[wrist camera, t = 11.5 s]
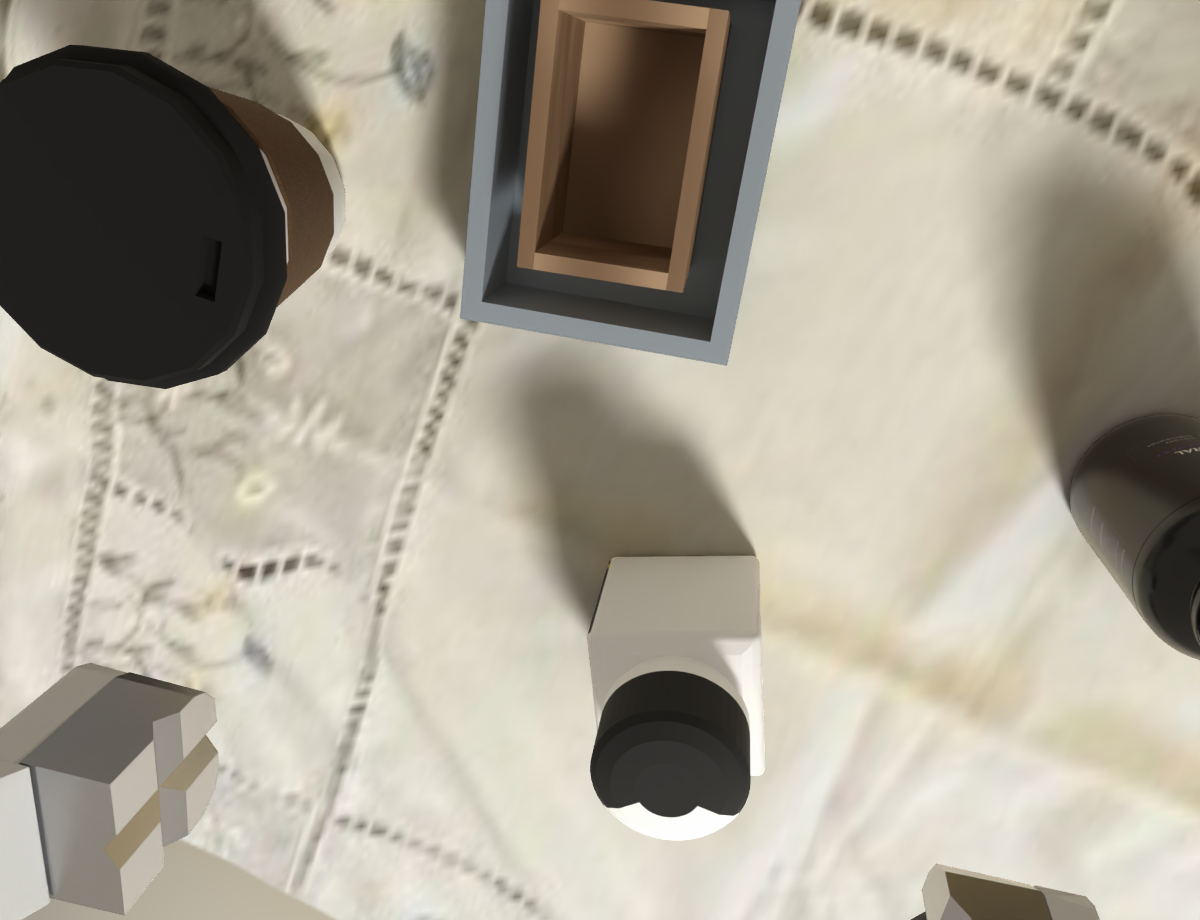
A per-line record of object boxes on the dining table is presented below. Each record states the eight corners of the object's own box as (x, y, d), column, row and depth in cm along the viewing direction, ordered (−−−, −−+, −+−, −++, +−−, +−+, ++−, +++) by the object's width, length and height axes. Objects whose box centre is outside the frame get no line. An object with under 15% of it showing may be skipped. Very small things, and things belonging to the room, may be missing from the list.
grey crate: (800, -16, 34) (807, -32, 30) (729, 336, 39) (727, 365, 35) (522, -56, 35) (492, -76, 30) (489, 295, 40) (459, 318, 36)
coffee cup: (424, 105, 37) (291, 109, 26) (373, 349, 42) (240, 441, 31) (175, 21, 38) (-61, -9, 27) (150, 273, 42) (-61, 337, 31)
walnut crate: (731, 24, 34) (728, 10, 29) (691, 263, 38) (682, 292, 32) (574, 3, 35) (542, -14, 29) (549, 241, 38) (516, 266, 33)
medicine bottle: (608, 554, 44) (563, 708, 33) (759, 552, 43) (764, 712, 32) (620, 678, 46) (582, 861, 35) (762, 680, 45) (768, 869, 34)
